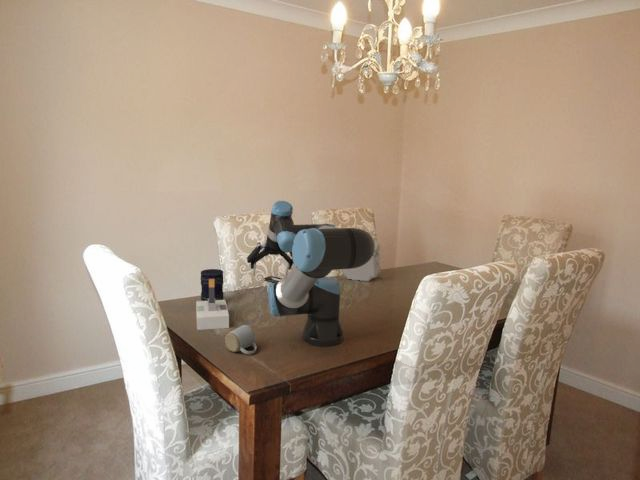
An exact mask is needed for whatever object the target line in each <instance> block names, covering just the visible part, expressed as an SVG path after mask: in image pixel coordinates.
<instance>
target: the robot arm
mask: <svg viewBox="0 0 640 480" xmlns="http://www.w3.org/2000/svg"><path fill="white" fill-rule="evenodd" d="M293 210H294V209H293V205H292V204H291V203H290V202H289V201H286V200H277V201H275V202H274V203H273V204H272V208H271V213H270V218H269V225H268V229H267V230H268V231H267V236H266V241H265V243H264V244H262V243H261V242H257V244H256V246H255V248H254V249H253V250H252V251H251V252H250V253H249V255H248V256H247V257H246V261H247V263H248V264H250V269H251V272H252V273H251V274H252V276H255V275H256V268H257V263H259V261H260V260H262V259H263V258H265V257H267V256H269V255H270V256H273V255H274V256H278V255H279V256H280V257H282V258H283V259H284V261H286V262H285V267H284V275H285V277H283V278H282V279H281V280H280V281H279V283H273V284H269V286H268V292H267V295H268V306H269V311H270V314H271V316H273V317H280V318H281V317H287V316H297V315H307V318H306V322H305V325H304V326H303V327H304V328H303V330H302V332H301V333H302V334H301V337H302V339H301V340H303V342H305V343H306V344H308V345H311V346H317V347H333V346H336V345H339V344H341V343H342V342H343V338H344V333H343V329H342V325H341V322H340V304H341V303H340V302H341V284H340V282H339V281H338V280H336V279H334V278H332V277H328V276H329V274H330V273H331V272H332V271H335V270H340V269H353V268H357V267H360V266H363V265H364V264H366V263H367V262H368V261H369V260H370V259H371V258H372V256H373V254H374V250H375V243H374V242H375V240H374V238H373V236H372V234H370V233H369V232H368V231H366V230H364V229H360V228H355V227H341V228H339V227H336V226H335V224H333V223H318V224H317V223H316V224H314V223H313V224H295V223H294V220H293V218H292V217H293ZM287 253H289V254H290V256H289V254H287ZM289 270H290V271H289Z"/></svg>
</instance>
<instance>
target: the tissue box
mask: <svg viewBox="0 0 640 480" xmlns="http://www.w3.org/2000/svg"><path fill="white" fill-rule="evenodd" d="M374 243H375V250H374V254H373V256H372V258H371V259H370V260H369V261H368V262H367V263H366V264H364V265H363V266H360V267H357V268H353V269H339V270H340V272H341V273H342V274H343V276H344V277H345V279H346V278H347V280H348V279H352V280H351V281H358V280H360V282H370V281H371V280H372V279H374V278H375V279H376V278H377V277H378V275H379V274H380V272H381V269H382V266H381V254H380V253H381V252H380V242H379V241H377V242H375V241H374ZM369 280H370V281H369Z"/></svg>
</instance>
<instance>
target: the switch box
mask: <svg viewBox="0 0 640 480" xmlns="http://www.w3.org/2000/svg"><path fill="white" fill-rule="evenodd" d="M195 303H196V304H195V305H196V306H195V308H196V310H195V311H196V313H195V314H196V330H197V331H204V330H219V329H230V314H229V310H228V305H227V302H226V299H223V300H215V298H214V303H209V298H208V301H201V300H197V301H196V302H195Z"/></svg>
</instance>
